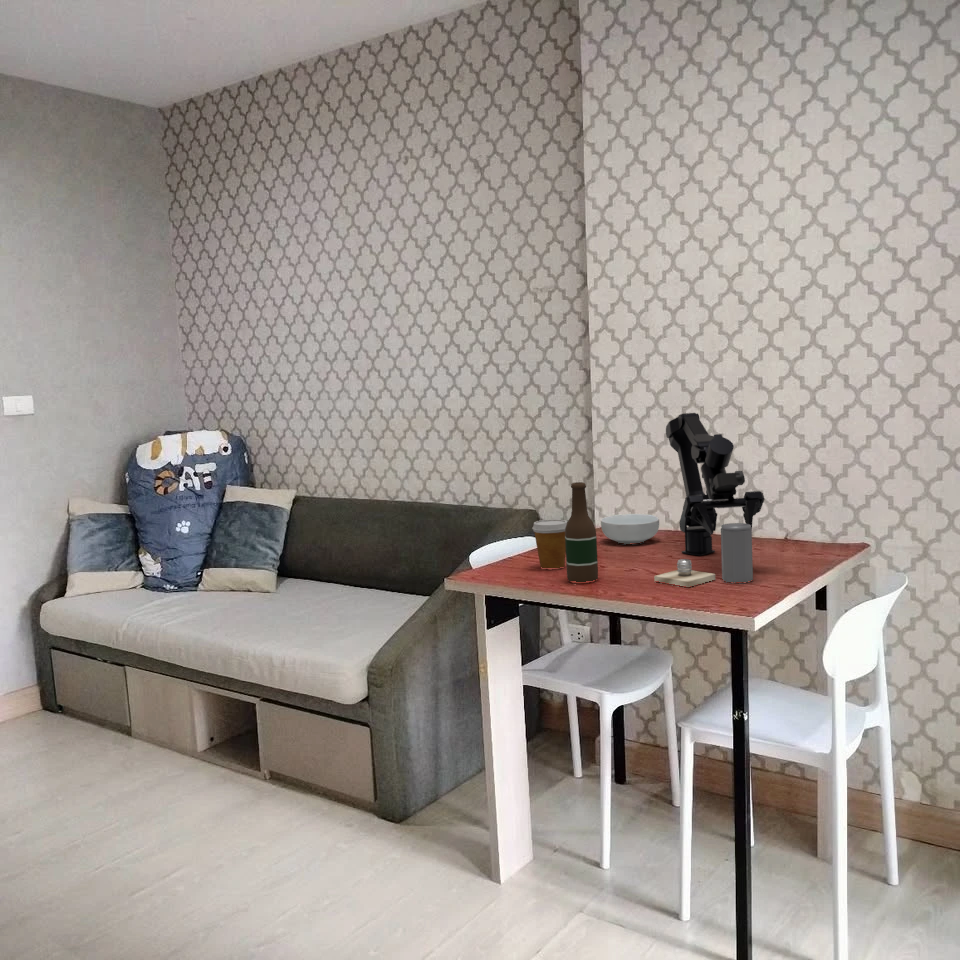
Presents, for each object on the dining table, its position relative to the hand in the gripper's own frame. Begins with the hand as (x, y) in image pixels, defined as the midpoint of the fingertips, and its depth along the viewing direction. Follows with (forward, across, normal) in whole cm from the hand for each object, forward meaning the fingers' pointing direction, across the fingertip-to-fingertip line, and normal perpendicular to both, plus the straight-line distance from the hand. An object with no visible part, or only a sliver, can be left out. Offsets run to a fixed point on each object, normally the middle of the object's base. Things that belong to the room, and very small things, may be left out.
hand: (731, 532), depth 224 cm
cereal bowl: (-29, -14, +44) cm, 55 cm away
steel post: (+7, -12, +6) cm, 15 cm away
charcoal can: (+10, 0, +5) cm, 11 cm away
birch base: (+8, -12, +7) cm, 16 cm away
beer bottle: (+3, -35, +12) cm, 37 cm away
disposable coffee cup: (-9, -40, +24) cm, 48 cm away
